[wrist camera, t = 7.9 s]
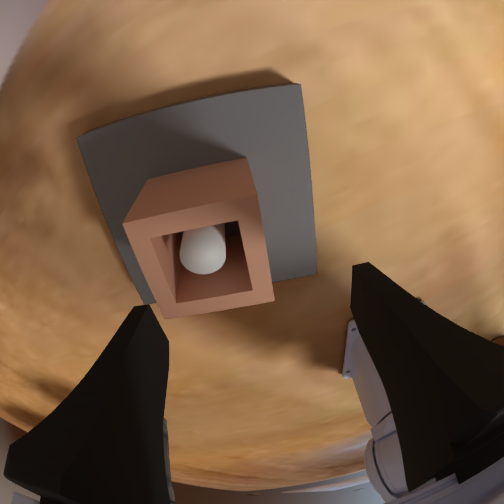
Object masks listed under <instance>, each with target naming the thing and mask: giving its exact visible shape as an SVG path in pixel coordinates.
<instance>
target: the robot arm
mask: <svg viewBox="0 0 504 504" xmlns="http://www.w3.org/2000/svg"><path fill="white" fill-rule="evenodd" d="M350 308H351V311H352V314H353V317H354V319H353V320H351V321H350V322H349V323H348V328H347V338H346V348H345V356H344V364H343V372H342V376H343V378H344V379H347V378H351V377H352V379H353V382H354V384H355V387H356V390H357V393H358V396H359V399H360V402H361V405H362V408H363V411H364V414H365V417H366V419H367V421H368V423H369V424H370V425H371V426H372V427H373V428H371V432H372V436H373V438H371V439H370V440H369V441H368V443H367V446H366V450H365V454H364V461H365V467H366V471H367V475H368V477H369V480H370V482H371V484H372V485H373V487H374V489H375V490H376V491H377V492H378V493H379V494H380V495H381V496H382V498H383V500H384V501H385V503H384V504H504V346H502V345H499V344H497V343H494V342H492V341H489V340H487V339H485V338H483V337H481V336H478V335H476V334H474V333H472V332H470V331H468V330H466V329H464V328H462V327H460V326H459V325H457V324H455V323H453V322H452V321H450V320H448V319H447V318H445V317H443V316H442V315H440V314H438V313H437V312H435V311H434V310H432V309H431V308H429V307H428V306H426V304H425V302H424V301H419V300H418V299H416V298H415V297H414V296H412V295H411V294H409V293H408V292H407V291H405V290H404V289H403V288H401V287H400V286H399V285H398V284H396V283H395V282H394V281H392V280H391V279H390V278H389V277H387V276H386V275H385V274H383V273H382V272H381V271H380V270H378V269H377V268H376V267H374V266H373V265H372V264H370V263H369V262H367V263H362V264H358V265H353V266H352V289H351V306H350ZM168 371H169V340H168V339H167V337H166V335H165V333H164V331H163V330H162V328H161V326H160V324H159V322H158V320H157V318H156V316H155V315H154V313H153V311H152V309H151V307H150V305H149V304H147V305H141V306H135V307H134V308H133V309H132V310H131V311H130V313H129V314H128V316H127V317H126V319H125V320H124V321H123V323H122V324H121V326H120V327H119V329H118V330H117V332H116V333H115V335H114V336H113V338H112V339H111V341H110V342H109V344H108V345H107V346H106V348H105V349H104V351H103V352H102V354H101V355H100V356H99V358H98V359H97V360H96V362H95V363H94V365H93V366H92V367H91V369H90V370H89V371H88V373H87V374H86V375H85V377H84V378H83V379H82V380H81V381H80V383H79V384H78V385H77V386H76V387H75V388H74V390H73V391H72V392H71V393H70V394H69V395H68V396H67V397H66V398H65V399H64V400H63V401H62V402H61V403H60V404H59V406H58V407H57V408H56V409H55V410H54V411H53V412H52V413H51V414H49V415H48V416H47V417H46V418H45V419H44V420H43V421H42V422H40V423H39V424H38V425H37V426H36V427H34V428H33V429H32V430H31V431H29V432H28V433H27V434H26V435H24V436H22V437H21V438H20V439H18V440H17V441H15V442H14V443H13V444H11V445H10V447H9V451H8V455H7V459H6V464H5V469H4V476H5V477H6V478H7V479H8V480H10V481H12V482H14V483H15V484H17V485H19V486H21V487H23V488H25V489H27V490H29V491H31V492H33V493H35V494H37V495H40V496H41V499H40V501H37V500H35V499H32V498H30V497H27V496H25V495H22V494H20V493H17V492H13V497H12V503H11V504H171V501H170V496H169V491H168V484H167V477H166V469H165V458H164V442H163V418H164V408H165V398H166V389H167V380H168Z"/></svg>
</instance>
